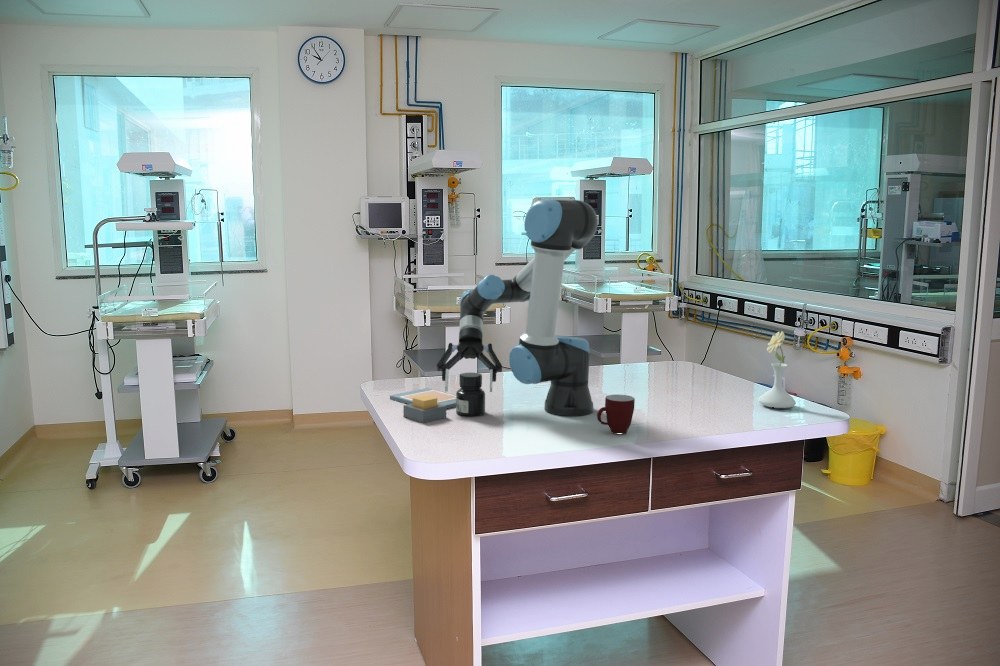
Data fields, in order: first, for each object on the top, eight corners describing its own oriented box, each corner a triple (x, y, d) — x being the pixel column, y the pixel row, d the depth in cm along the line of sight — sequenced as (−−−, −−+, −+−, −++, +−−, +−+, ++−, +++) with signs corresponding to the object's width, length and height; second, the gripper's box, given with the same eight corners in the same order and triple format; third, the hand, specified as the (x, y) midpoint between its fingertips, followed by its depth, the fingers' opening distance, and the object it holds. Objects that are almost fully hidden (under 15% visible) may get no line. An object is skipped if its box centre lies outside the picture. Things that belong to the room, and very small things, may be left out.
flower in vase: (758, 401, 254) (763, 326, 250) (795, 404, 250) (800, 328, 246) (757, 410, 241) (762, 331, 238) (796, 413, 238) (801, 334, 234)
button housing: (446, 417, 229) (446, 405, 228) (422, 422, 222) (422, 411, 222) (426, 411, 235) (426, 400, 235) (403, 416, 229) (403, 405, 228)
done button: (437, 411, 228) (437, 398, 228) (423, 414, 225) (423, 401, 224) (426, 408, 232) (425, 395, 231) (412, 411, 228) (412, 397, 228)
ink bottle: (453, 410, 237) (453, 372, 236) (481, 408, 239) (481, 371, 238) (459, 418, 228) (459, 378, 226) (488, 416, 230) (488, 377, 228)
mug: (605, 438, 209) (606, 403, 207) (591, 431, 216) (592, 396, 215) (638, 435, 213) (640, 399, 211) (623, 427, 220) (624, 393, 219)
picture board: (471, 403, 246) (471, 399, 246) (433, 411, 235) (433, 407, 235) (427, 391, 262) (427, 387, 261) (389, 398, 250) (389, 395, 250)
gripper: (509, 340, 249) (509, 396, 237) (432, 339, 249) (428, 395, 237) (509, 326, 243) (509, 383, 231) (431, 325, 243) (426, 382, 231)
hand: (468, 389), depth 234 cm, fingers open, 13 cm apart
